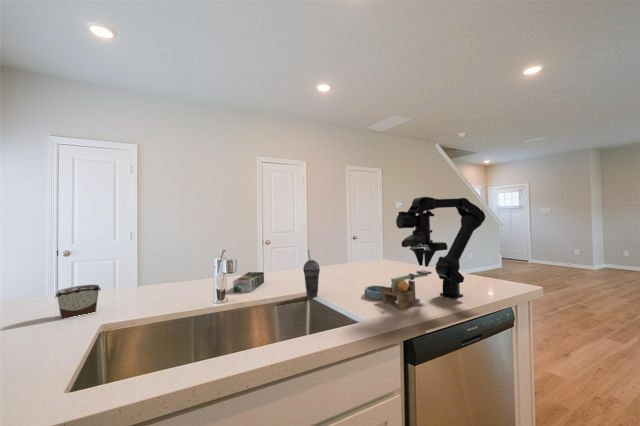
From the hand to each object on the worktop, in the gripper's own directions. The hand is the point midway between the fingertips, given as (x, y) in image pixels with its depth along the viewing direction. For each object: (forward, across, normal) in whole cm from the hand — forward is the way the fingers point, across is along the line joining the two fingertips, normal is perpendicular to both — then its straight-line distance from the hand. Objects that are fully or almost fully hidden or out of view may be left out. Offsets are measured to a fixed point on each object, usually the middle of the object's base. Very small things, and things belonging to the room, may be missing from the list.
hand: (423, 266), depth 107 cm
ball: (+6, +2, -14) cm, 15 cm away
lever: (+8, 0, -7) cm, 11 cm away
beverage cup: (+13, -27, -38) cm, 48 cm away
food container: (+13, -53, -122) cm, 134 cm away
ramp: (+13, -1, -14) cm, 19 cm away
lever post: (+13, 0, -7) cm, 15 cm away
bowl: (+13, -12, -14) cm, 23 cm away
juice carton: (+14, -58, -58) cm, 83 cm away
